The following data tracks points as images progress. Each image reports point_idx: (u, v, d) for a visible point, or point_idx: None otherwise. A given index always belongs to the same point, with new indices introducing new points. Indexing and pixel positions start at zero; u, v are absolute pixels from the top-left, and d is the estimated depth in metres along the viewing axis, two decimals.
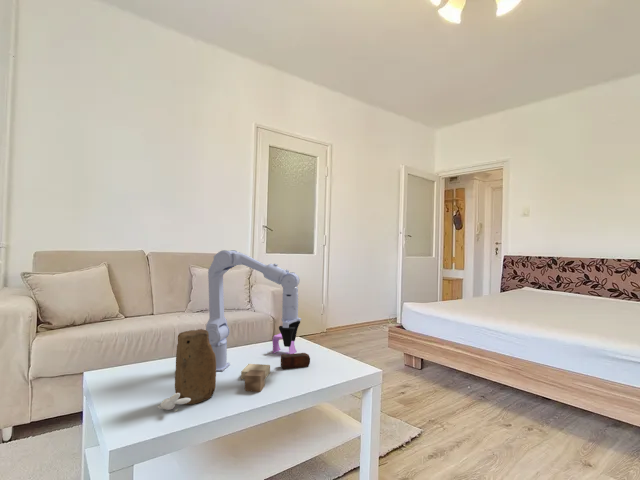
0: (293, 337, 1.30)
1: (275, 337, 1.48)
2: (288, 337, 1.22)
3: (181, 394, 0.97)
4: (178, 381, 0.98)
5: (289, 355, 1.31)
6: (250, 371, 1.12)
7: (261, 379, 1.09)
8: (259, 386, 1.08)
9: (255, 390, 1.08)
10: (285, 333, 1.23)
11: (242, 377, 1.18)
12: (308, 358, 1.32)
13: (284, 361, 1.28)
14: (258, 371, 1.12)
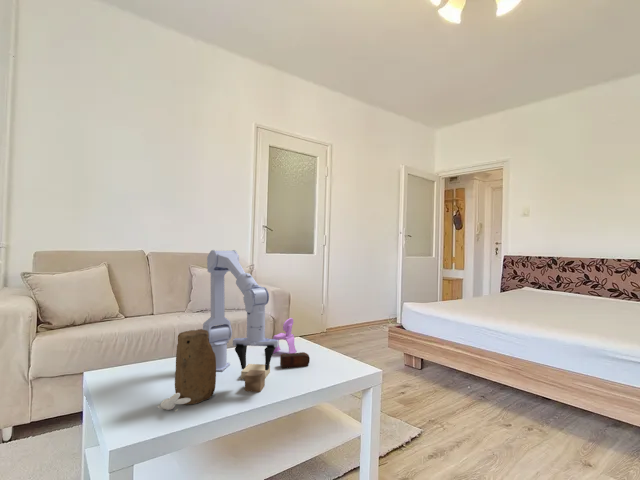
0: None
1: (275, 337, 1.48)
2: None
3: (181, 394, 0.97)
4: (178, 381, 0.98)
5: (289, 354, 1.31)
6: (250, 371, 1.12)
7: (261, 379, 1.09)
8: (259, 386, 1.08)
9: (255, 390, 1.08)
10: None
11: (242, 377, 1.18)
12: (307, 357, 1.32)
13: (283, 360, 1.29)
14: (258, 371, 1.12)
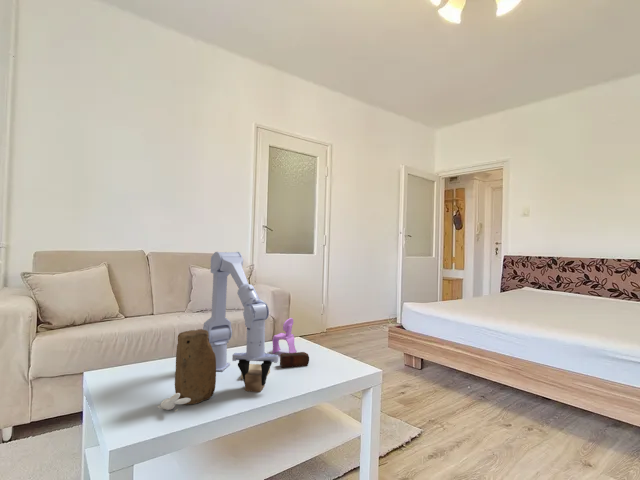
0: None
1: (275, 337, 1.48)
2: None
3: (181, 394, 0.97)
4: (178, 381, 0.98)
5: (288, 354, 1.32)
6: (250, 371, 1.12)
7: (261, 379, 1.09)
8: (259, 386, 1.08)
9: (255, 390, 1.08)
10: None
11: (242, 377, 1.18)
12: (307, 357, 1.33)
13: (283, 360, 1.30)
14: (258, 371, 1.12)
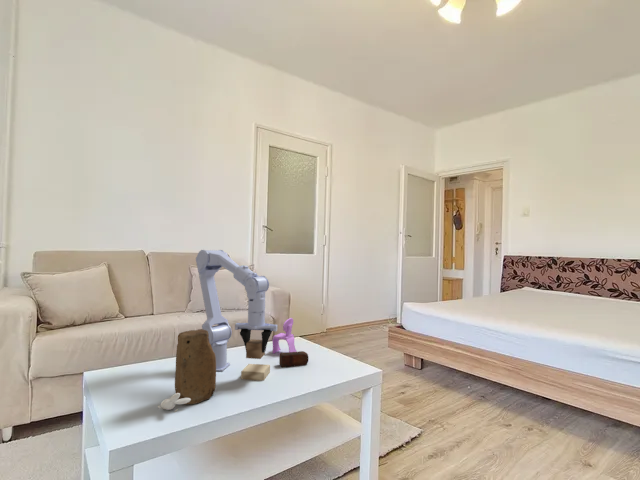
0: None
1: (275, 337, 1.48)
2: None
3: (181, 394, 0.97)
4: (178, 381, 0.98)
5: (288, 353, 1.33)
6: (251, 340, 1.20)
7: (261, 347, 1.17)
8: (259, 353, 1.16)
9: (256, 357, 1.16)
10: None
11: (242, 377, 1.18)
12: (306, 356, 1.34)
13: (282, 359, 1.30)
14: (258, 340, 1.20)
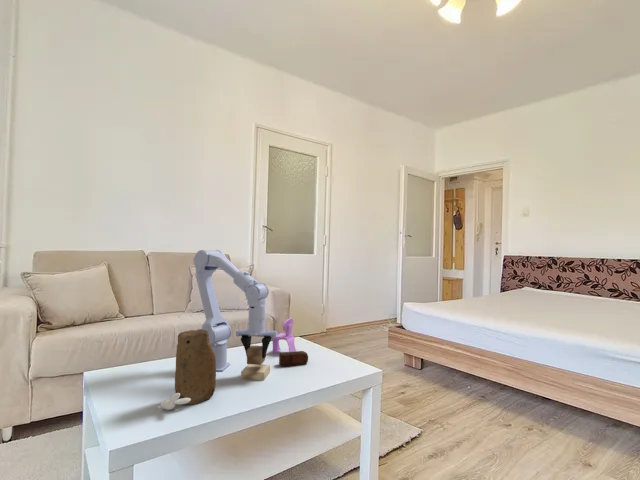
0: None
1: None
2: None
3: (181, 394, 0.97)
4: (178, 381, 0.98)
5: (287, 353, 1.33)
6: (251, 346, 1.23)
7: None
8: (260, 359, 1.19)
9: (256, 363, 1.19)
10: None
11: (242, 377, 1.18)
12: (306, 356, 1.34)
13: (282, 359, 1.31)
14: (258, 346, 1.23)
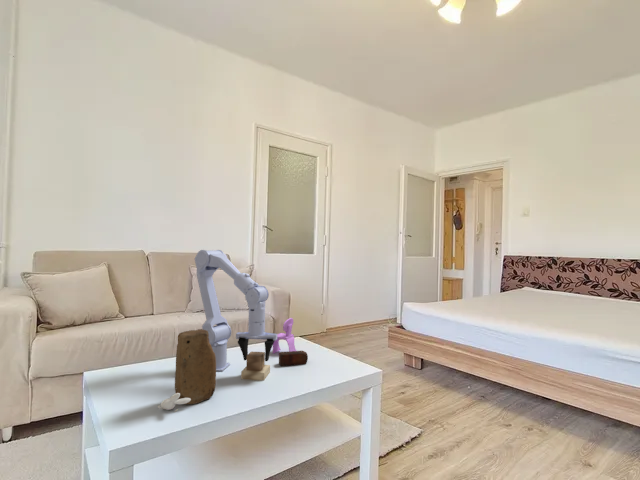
0: None
1: None
2: None
3: (181, 394, 0.97)
4: (178, 381, 0.98)
5: (287, 353, 1.34)
6: (251, 352, 1.23)
7: (261, 359, 1.20)
8: (259, 365, 1.19)
9: (256, 369, 1.19)
10: None
11: (242, 377, 1.18)
12: (306, 356, 1.35)
13: (282, 358, 1.31)
14: (258, 353, 1.23)
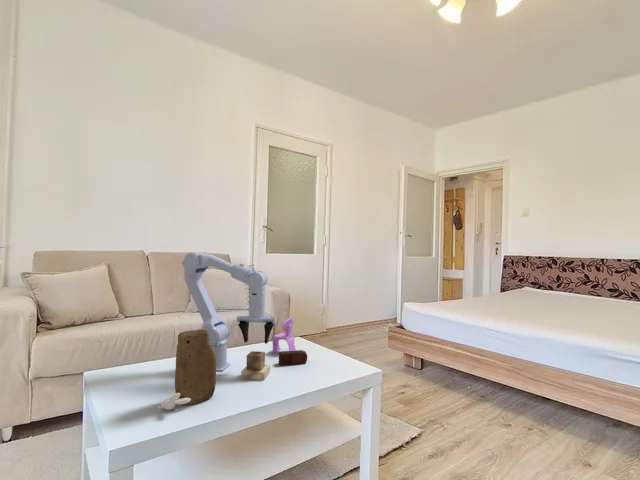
0: None
1: (275, 337, 1.48)
2: None
3: (181, 394, 0.97)
4: (178, 381, 0.98)
5: (287, 352, 1.34)
6: (251, 352, 1.24)
7: (261, 359, 1.20)
8: (259, 365, 1.19)
9: (256, 369, 1.20)
10: None
11: (242, 377, 1.18)
12: (305, 355, 1.35)
13: (281, 358, 1.32)
14: (258, 352, 1.23)
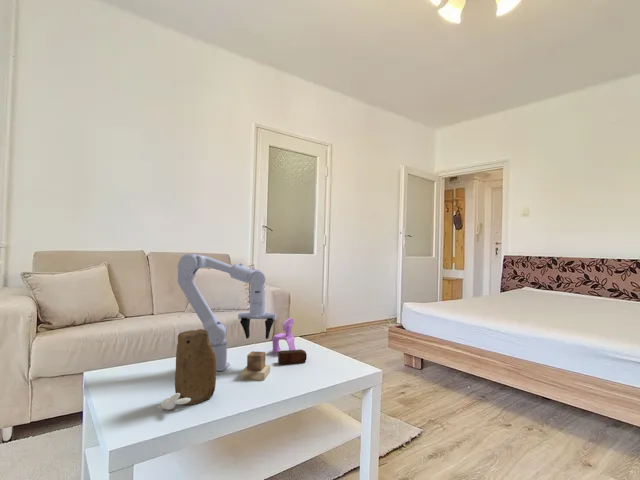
0: None
1: (275, 337, 1.48)
2: None
3: (181, 394, 0.97)
4: (178, 381, 0.98)
5: (286, 351, 1.35)
6: (252, 352, 1.24)
7: (262, 359, 1.21)
8: (260, 365, 1.19)
9: (256, 368, 1.20)
10: None
11: (242, 377, 1.19)
12: (305, 354, 1.36)
13: (281, 357, 1.33)
14: (259, 352, 1.23)
